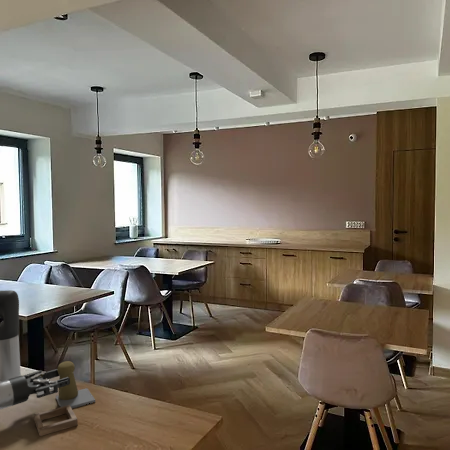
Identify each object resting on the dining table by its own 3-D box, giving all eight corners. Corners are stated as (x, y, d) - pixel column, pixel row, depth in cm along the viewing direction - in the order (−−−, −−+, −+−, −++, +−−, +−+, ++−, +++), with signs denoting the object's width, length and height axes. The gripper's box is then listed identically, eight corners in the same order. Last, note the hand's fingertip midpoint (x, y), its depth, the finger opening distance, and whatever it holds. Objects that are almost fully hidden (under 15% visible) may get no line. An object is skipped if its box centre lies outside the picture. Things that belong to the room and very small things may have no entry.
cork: (71, 386, 142) (69, 356, 139) (81, 393, 138) (79, 362, 136) (54, 395, 137) (51, 364, 135) (64, 402, 133) (61, 370, 131)
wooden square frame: (34, 420, 124) (33, 414, 124) (69, 410, 129) (69, 404, 129) (39, 436, 115) (39, 429, 115) (77, 425, 121) (77, 419, 121)
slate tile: (55, 398, 137) (55, 395, 137) (87, 390, 143) (87, 388, 143) (62, 411, 129) (62, 408, 129) (95, 402, 134) (95, 399, 134)
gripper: (15, 388, 117) (72, 371, 128) (0, 373, 127) (54, 358, 138) (16, 414, 117) (73, 395, 128) (1, 397, 128) (55, 380, 139)
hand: (63, 376), depth 133 cm, fingers open, 8 cm apart
